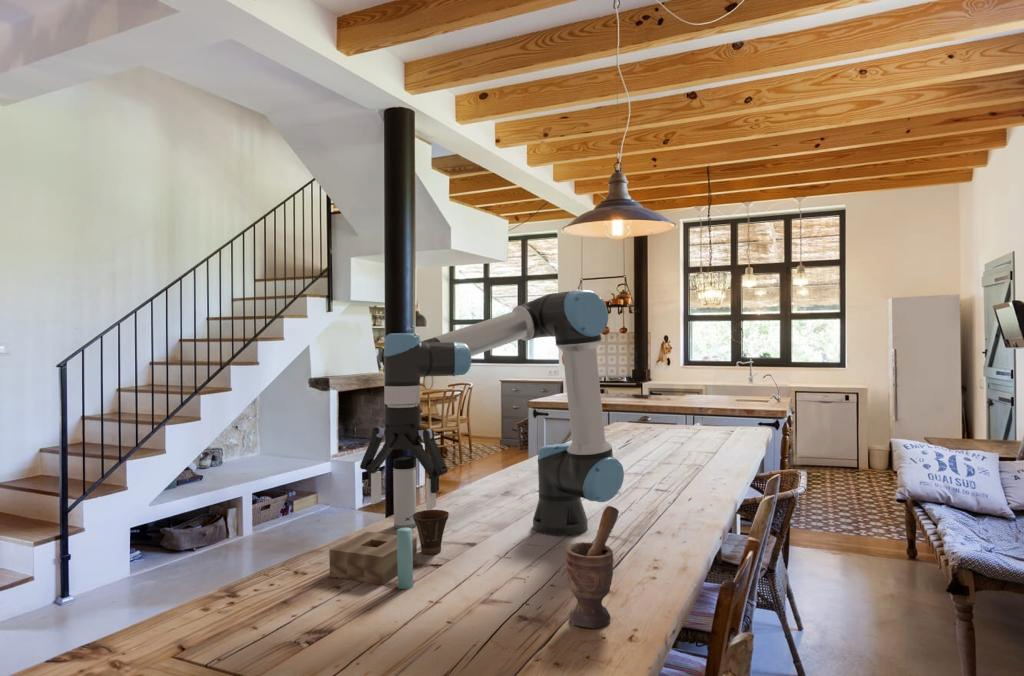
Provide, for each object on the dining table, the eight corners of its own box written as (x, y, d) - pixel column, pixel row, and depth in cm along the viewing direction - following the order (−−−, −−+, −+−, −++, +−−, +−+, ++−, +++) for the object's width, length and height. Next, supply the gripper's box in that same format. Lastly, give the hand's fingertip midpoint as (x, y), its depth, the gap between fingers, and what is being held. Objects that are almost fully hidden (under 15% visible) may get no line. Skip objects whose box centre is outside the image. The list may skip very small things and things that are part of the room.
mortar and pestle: (584, 601, 124) (582, 500, 124) (626, 609, 120) (624, 505, 120) (559, 624, 114) (557, 514, 114) (604, 634, 110) (602, 520, 110)
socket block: (416, 563, 147) (416, 537, 147) (382, 584, 134) (382, 556, 134) (367, 556, 152) (366, 531, 152) (329, 576, 139) (329, 549, 139)
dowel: (415, 584, 134) (414, 528, 134) (407, 590, 131) (406, 532, 131) (403, 582, 135) (402, 527, 135) (394, 588, 132) (393, 531, 132)
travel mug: (413, 530, 173) (411, 457, 173) (390, 529, 174) (389, 457, 175) (420, 523, 179) (419, 453, 179) (399, 522, 181) (398, 453, 181)
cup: (458, 543, 159) (454, 505, 158) (443, 559, 150) (438, 520, 149) (427, 541, 162) (422, 504, 161) (410, 557, 153) (406, 518, 152)
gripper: (462, 405, 132) (463, 506, 132) (364, 402, 142) (364, 496, 141) (445, 408, 125) (446, 515, 125) (343, 405, 135) (343, 504, 134)
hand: (403, 505), depth 133 cm, fingers open, 13 cm apart
